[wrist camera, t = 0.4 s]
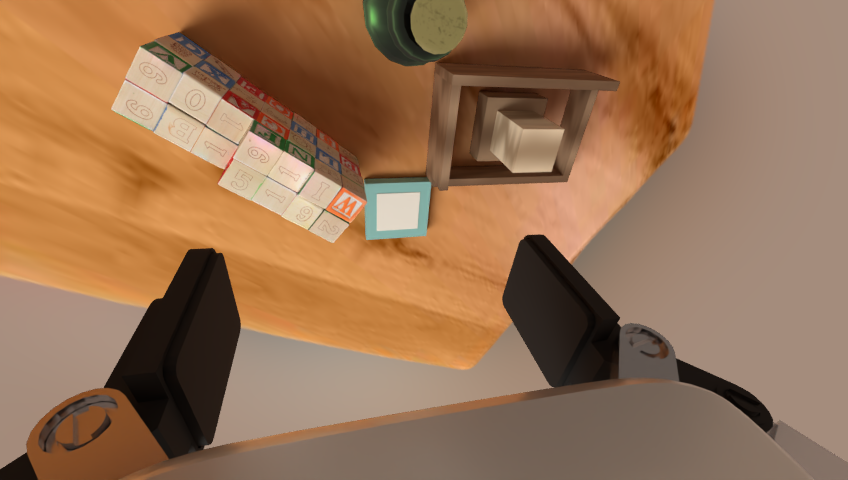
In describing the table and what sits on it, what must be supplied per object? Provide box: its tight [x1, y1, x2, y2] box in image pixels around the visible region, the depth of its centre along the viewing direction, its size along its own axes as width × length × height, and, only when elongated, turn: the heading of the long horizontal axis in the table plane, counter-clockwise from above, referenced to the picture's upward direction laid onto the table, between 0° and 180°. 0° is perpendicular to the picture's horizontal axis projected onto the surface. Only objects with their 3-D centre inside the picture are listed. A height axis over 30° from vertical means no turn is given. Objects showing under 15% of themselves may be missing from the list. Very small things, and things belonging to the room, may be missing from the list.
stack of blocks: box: [112, 32, 367, 243], centre depth 36 cm, size 21×6×12 cm, turn 47°
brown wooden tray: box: [426, 63, 620, 191], centre depth 44 cm, size 14×20×7 cm
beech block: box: [490, 111, 565, 173], centre depth 42 cm, size 5×5×7 cm
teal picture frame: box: [364, 177, 431, 240], centre depth 50 cm, size 9×9×2 cm
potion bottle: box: [363, 0, 468, 66], centre depth 30 cm, size 8×8×18 cm
